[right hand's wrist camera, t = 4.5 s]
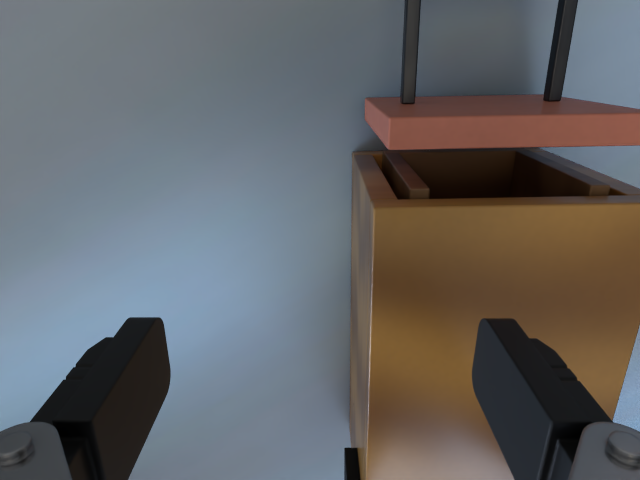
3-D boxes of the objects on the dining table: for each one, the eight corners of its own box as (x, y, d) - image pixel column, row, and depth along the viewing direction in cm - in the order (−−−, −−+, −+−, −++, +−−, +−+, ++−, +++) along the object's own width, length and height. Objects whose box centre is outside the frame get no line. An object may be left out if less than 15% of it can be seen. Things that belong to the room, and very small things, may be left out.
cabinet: (352, 151, 27) (373, 207, 17) (539, 147, 27) (675, 202, 17) (349, 427, 35) (363, 581, 25) (494, 425, 35) (568, 578, 24)
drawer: (367, -26, 23) (396, -74, 14) (566, -29, 23) (709, -79, 14) (359, 389, 32) (374, 504, 24) (499, 387, 32) (563, 500, 24)
